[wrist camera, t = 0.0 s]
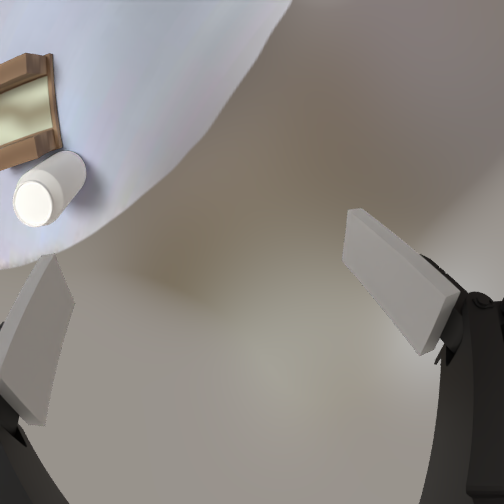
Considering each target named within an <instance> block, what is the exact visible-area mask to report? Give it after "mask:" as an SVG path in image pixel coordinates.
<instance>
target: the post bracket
mask: <svg viewBox="0 0 504 504" xmlns="http://www.w3.org/2000/svg"><path fill="white" fill-rule="evenodd" d="M61 147H62V141H61V135H60V128H59V121H58V114H57V106H56V97H55V87H54V74H53V56H52V54H50V53H49V54H46V55H44V56H42V55H36V54H30V53H24V54H22V55H20V56H17V57H15V58H13V59H11V60H9V61H6V62H4V63H2V64H0V171H1V170H4V169H7V168H10V167H13V166H16V165H18V164H21V163H25V162H28V161H31V160H34V159H37V158H39V157H41V156H43V155H44V154H46V153H48V152H49V151H52V150H56V149H60V148H61Z"/></svg>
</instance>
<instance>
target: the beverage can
mask: <svg viewBox="0 0 504 504" xmlns="http://www.w3.org/2000/svg"><path fill="white" fill-rule="evenodd" d="M85 180H86V167H85V164H84V162H83V160H82V159H81V158H80V157H79V156H78V155H77V154H76V153H74V152H71V151H61V152H58V153H56V154H54V155H52V156H51V157H49V158H48V159H46V160H44V161H43V162H41V163H40V164H38V165H37V166H35V167H34V168H32V169H31V170H29V171H28V172H27V173H25V174H24V175H23V176H22V177H21V178H20V180H19V181H18V183H17V186H16V190H15V193H14V196H13V208H14V211H15V214H16V215H17V217H18V218H19V220H20V221H21V222H22V223H24V224H25V225H27V226H30V227H40V226H45V225H48V224H51V223H53V222H54V221H55V220H56V219H57V218H58V217H59V216H60V214H61V213H62V212H63V210H64V209H65V208H66V207H67V205H68V204H69V203H70V202H71V200H72V199H73V198H74V197H75V196H76V194H77V193H78V192H79V191H80V189H81V188H82V187H83V185H84V182H85Z"/></svg>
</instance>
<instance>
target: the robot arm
mask: <svg viewBox="0 0 504 504" xmlns="http://www.w3.org/2000/svg"><path fill="white" fill-rule="evenodd" d="M342 262H343V263H344V264H345V265H346V266H347V267H348V269H349V270H350V271H351V272H352V273H353V274H354V275H355V276H356V278H357V279H358V280H359V281H360V283H361V284H362V285H363V286H364V287H365V289H366V290H367V291H368V292H369V293H370V295H371V296H372V297H373V298H374V299H375V301H376V302H377V303H378V304H379V305H380V307H381V308H382V309H383V310H384V312H385V313H386V314H387V315H388V317H389V318H390V319H391V320H392V321H393V323H394V324H395V325H396V327H397V328H398V329H399V330H400V331H401V333H402V334H403V336H404V337H405V338H406V339H407V341H408V342H409V343H410V345H411V346H412V347H413V348H414V350H415V351H416V352H417V354H418V355H419V356H421V355H423V354H425V353H428V352H430V351H432V350H434V348H435V346H436V344H437V342H438V341H439V338H441V340H442V341H443V342H444V345H443V347H442V349H441V351H440V353H439V354H438V356H437V358H436V360H435V363H434V364H437V363H438V361H439V360H440V359H441V364H440V365H441V374H440V389H439V400H438V409H437V419H436V426H435V432H434V439H433V445H432V451H431V456H430V461H429V466H428V471H427V475H426V479H425V484H424V488H423V492H422V496H421V499H420V503H419V504H504V298H503V300H502V301H495V302H493V300H492V299H491V298H490V297H488V296H487V295H485V294H483V293H480V292H470V293H467V291H466V290H465V289H463V288H462V287H461V286H460V285H459V284H458V283H457V282H456V281H455V280H454V279H453V278H451V277H450V276H449V275H448V274H446V273H445V271H444V270H442V269H441V268H439V266H438V265H437V264H436V263H434V262H433V261H432V260H431V259H429V258H427V257H425V256H423V255H421V254H418V253H417V252H416V251H415V250H414V249H412V248H411V247H410V246H409V245H408V244H406V243H405V242H404V241H403V240H402V239H400V238H399V237H398V236H397V235H395V234H394V233H393V232H392V231H390V230H389V229H388V228H386V227H385V226H384V225H383V224H382V223H380V222H379V221H378V220H376V219H375V218H374V217H372V216H371V215H370V214H369V213H367V212H366V211H365V210H363V209H362V208H359V209H350V210H348V214H347V223H346V232H345V240H344V248H343V255H342ZM74 305H75V302H74V299H73V297H72V295H71V292H70V290H69V288H68V285H67V283H66V280H65V278H64V276H63V273H62V271H61V268H60V266H59V263H58V260H57V258H56V255H55V253H53V254H48V255H42V256H41V257H40V258H39V260H38V262H37V264H36V265H35V267H34V268H33V270H32V272H31V273H30V275H29V277H28V278H27V280H26V282H25V284H24V286H23V287H22V289H21V291H20V293H19V295H18V297H17V298H16V300H15V302H14V304H13V306H12V308H11V310H10V312H9V314H8V316H7V318H6V320H5V322H2V324H1V325H0V504H69V503H68V501H67V500H66V499H65V497H64V496H63V494H62V493H61V492H60V490H59V489H58V487H57V486H56V484H55V483H54V481H53V480H52V478H51V477H50V476H49V474H48V472H47V471H46V469H45V468H44V466H43V464H42V463H41V461H40V459H39V458H38V456H37V454H36V452H35V451H34V449H33V447H32V445H31V444H30V442H29V440H28V438H27V436H26V435H25V432H24V430H23V429H22V427H21V426H20V425H19V424H18V419H19V416H20V417H21V418H22V419H23V420H24V421H25V422H26V423H27V424H28V425H38V426H45V423H46V417H47V411H48V405H49V401H50V395H51V391H52V386H53V381H54V377H55V373H56V368H57V364H58V360H59V356H60V352H61V349H62V345H63V342H64V338H65V334H66V331H67V328H68V324H69V321H70V318H71V314H72V311H73V309H74Z"/></svg>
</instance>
